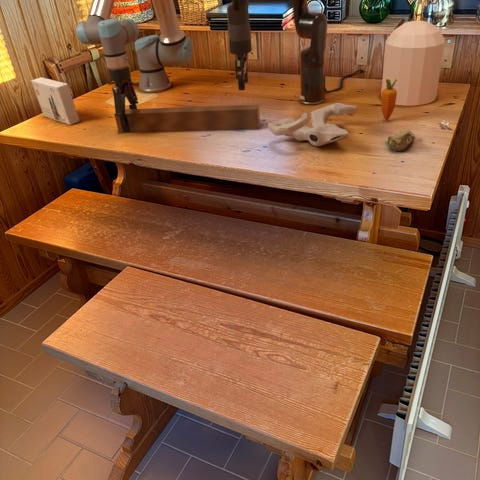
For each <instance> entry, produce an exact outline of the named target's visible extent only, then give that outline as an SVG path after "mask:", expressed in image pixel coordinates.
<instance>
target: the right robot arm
mask: <svg viewBox="0 0 480 480" xmlns="http://www.w3.org/2000/svg"><path fill="white" fill-rule="evenodd" d="M231 1H232V2H231V3H229V4H228V5H227V6H226V17H227V18H226V19H227V34H228V35H227V36H228V48H229V53H230V54H231V55H235V56H236V57H235V59H234V69H235V79H236V80H237V87H238V91H245V90H246V84H247V83H248V82H249V74H248V71H249V67H250V66H249V58H248V54H249V53H251V52H252V50H253V47H252V33H251V31H252V30H251V25H250V13H249V12H250V11H249V5H250V0H231ZM291 2H292V11H293V21H294V29H295V32H296V35H297V36H298V37H299V38H301V39H305V40H310V45H309V46H307V47H304V48H302V49H301V50H300V53H299V56H300V57H299V59H300V61H299V62H300V69H299V70H300V94H299V99H300V103H301V104H303V105H308V106H309V105H311V106H312V105H319V104H321V103H323V102H324V100H326V94H327V93H328V94H329V93H333V92H336V91H339V90H340V89H342V88H343V80H344V79H346V78H348V77H349V78H350V77H351V76H354V75H356V74H358V73H359V72H361V73H364V70H363V69H357V70H355V71H354V72H352V73H350V74H347V75H344V76H342V77H340V79H339V85H340V86H339V87H337V88H334V89H331V90H327V87H326V75H325V52H326V48H327V36H328V19H327V16H326V14H325V13H323V12H316V11H310V10H309V5H308V4H309V3H308V0H291Z"/></svg>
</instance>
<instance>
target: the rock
mask: <svg viewBox="0 0 480 480" xmlns="http://www.w3.org/2000/svg"><path fill="white" fill-rule="evenodd" d="M415 139H416V135H415V134H414V132H412V131H411V130H408V129H407V130H404V131H398V132H396V133H394V134H393V135H392V134H391V135H389V136H388V137H387V143H388V145H387V146H388V147H389V149H391V150H392V151H395V152H404V151H406V150H407V148H409V145H410V144H411V143H412V142H413V141H414V140H415Z"/></svg>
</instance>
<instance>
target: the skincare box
mask: <svg viewBox="0 0 480 480" xmlns="http://www.w3.org/2000/svg"><path fill="white" fill-rule="evenodd" d="M30 81H31V85H32V86H33V90H34V93H35V95H36V98H37V101H38V104H39V106H40V109H41V112H42V115H43V117H45V118H48V119H51V120H54V121H57V122H60V123H62V124H65V125H69V126H72V125H73V124H76V123H79V122H81V119H80V117H79V114H78V111H77V109H76V104H75V102H74V98H73V96H72V92H71V90H70V87H69V84H68V82H67V83H66V82H62V81H58V80H55V79H51V78H46V77H42V76H40V77H38V78H35V79H31V80H30Z"/></svg>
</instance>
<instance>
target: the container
mask: <svg viewBox="0 0 480 480" xmlns="http://www.w3.org/2000/svg"><path fill="white" fill-rule="evenodd" d="M445 44H446V40H445V37H444V35H443V33H442V31H441V29H440V28H439V27H437V26H436V25H434V24H433V23H431V22H429V21H425V20H410V21H406V22H404V23H402V24H401V25H400V26H398V27H397V28H395V29H393V31H391V33H390V35H389V36H388V37H387V39H386V40H385V41H384V56H383V64H382V65H383V66H382V78H381V92H380V99H381V98H382V91H383V90H384V89H386V88H387V87H386V85H387V83H386V79H390V82H391V84H393V82H394V80H395V79H397V81H396V83H395V84H394V86H393V88H394V89H395V90H396V91H397V95H396V102H395V106H405V107H410V106H421V105H428V104H430V103H432V102H434V101H435V100H436V99H437V97H438V96H437V94H438V90H439V83H440V76H441V71H442V70H441V69H442V64H443V57H444V51H445ZM389 86H390V85H389ZM391 86H392V85H391Z"/></svg>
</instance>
